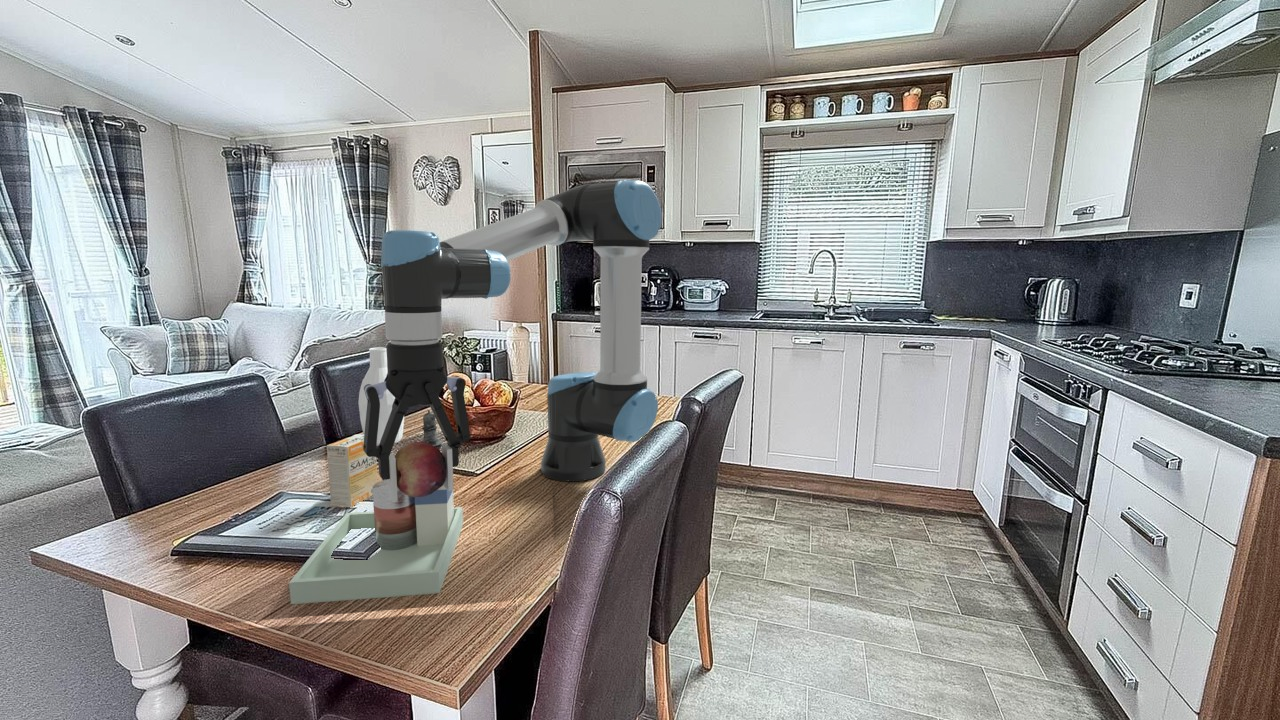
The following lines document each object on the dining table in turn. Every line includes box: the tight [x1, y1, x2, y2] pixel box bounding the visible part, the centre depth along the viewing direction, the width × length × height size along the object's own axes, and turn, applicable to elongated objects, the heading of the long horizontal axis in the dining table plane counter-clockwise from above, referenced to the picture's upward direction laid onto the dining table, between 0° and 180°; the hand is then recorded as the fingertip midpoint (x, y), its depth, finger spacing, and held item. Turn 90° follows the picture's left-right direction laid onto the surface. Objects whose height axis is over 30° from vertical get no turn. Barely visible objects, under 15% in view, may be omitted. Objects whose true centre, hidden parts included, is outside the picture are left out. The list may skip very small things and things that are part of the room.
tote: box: [288, 506, 464, 605], centre depth 88 cm, size 20×22×4 cm
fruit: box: [393, 441, 447, 497], centre depth 81 cm, size 8×8×8 cm
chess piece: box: [419, 409, 444, 451], centre depth 137 cm, size 6×6×12 cm
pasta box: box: [415, 485, 455, 546], centre depth 94 cm, size 5×6×12 cm
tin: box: [372, 479, 417, 550], centre depth 93 cm, size 7×7×10 cm
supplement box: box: [326, 433, 378, 508], centre depth 109 cm, size 8×5×13 cm, turn 168°
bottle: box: [358, 346, 405, 446], centre depth 147 cm, size 11×11×25 cm
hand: (421, 492), depth 82 cm, fingers closed on fruit, 7 cm apart
